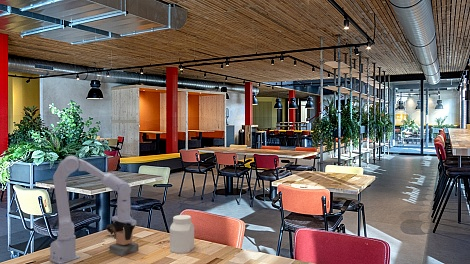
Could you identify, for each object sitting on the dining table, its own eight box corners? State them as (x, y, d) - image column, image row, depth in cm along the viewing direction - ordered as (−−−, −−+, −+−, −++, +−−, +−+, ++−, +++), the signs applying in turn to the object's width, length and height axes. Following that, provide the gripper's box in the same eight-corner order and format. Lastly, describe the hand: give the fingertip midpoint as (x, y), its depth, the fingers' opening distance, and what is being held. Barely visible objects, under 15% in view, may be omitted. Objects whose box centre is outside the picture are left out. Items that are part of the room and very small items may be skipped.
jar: (187, 254, 164) (187, 220, 163) (167, 252, 166) (167, 219, 166) (196, 246, 175) (196, 214, 175) (177, 244, 177) (177, 213, 177)
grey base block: (122, 257, 161) (122, 249, 161) (109, 252, 166) (109, 245, 166) (138, 251, 168) (138, 243, 168) (125, 247, 174) (125, 240, 174)
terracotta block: (123, 245, 164) (123, 233, 164) (116, 243, 167) (116, 232, 167) (132, 242, 168) (132, 231, 168) (125, 240, 171) (125, 229, 171)
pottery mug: (130, 233, 197) (132, 222, 193) (124, 246, 188) (126, 234, 185) (108, 228, 196) (109, 216, 192) (101, 240, 188) (103, 229, 184)
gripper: (141, 209, 166) (141, 239, 167) (120, 205, 174) (120, 233, 175) (129, 212, 160) (129, 243, 161) (108, 208, 168) (108, 237, 169)
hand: (123, 238), depth 167 cm, fingers closed on terracotta block, 5 cm apart
